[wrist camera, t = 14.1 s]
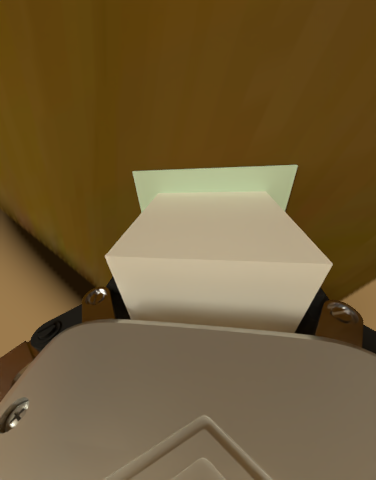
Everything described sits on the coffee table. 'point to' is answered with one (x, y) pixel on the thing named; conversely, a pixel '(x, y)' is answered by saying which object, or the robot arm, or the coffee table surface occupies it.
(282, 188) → the mark
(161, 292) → the cream matte cube
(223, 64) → the coffee table surface
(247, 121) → the coffee table surface
